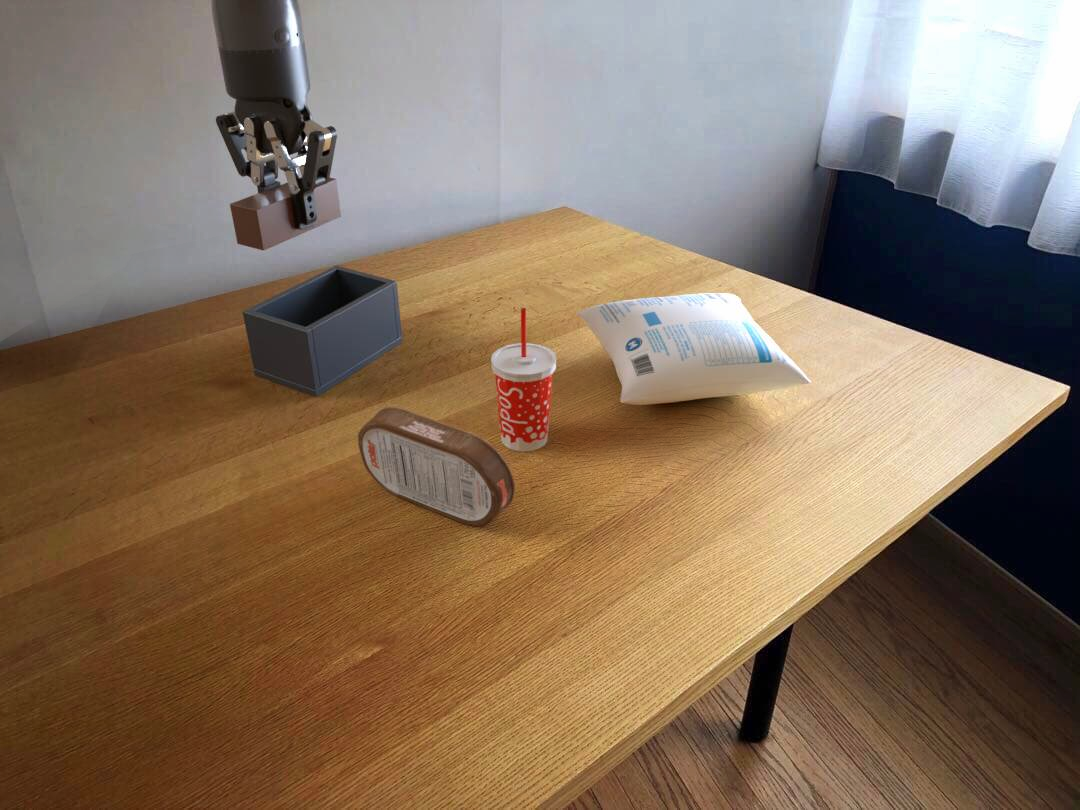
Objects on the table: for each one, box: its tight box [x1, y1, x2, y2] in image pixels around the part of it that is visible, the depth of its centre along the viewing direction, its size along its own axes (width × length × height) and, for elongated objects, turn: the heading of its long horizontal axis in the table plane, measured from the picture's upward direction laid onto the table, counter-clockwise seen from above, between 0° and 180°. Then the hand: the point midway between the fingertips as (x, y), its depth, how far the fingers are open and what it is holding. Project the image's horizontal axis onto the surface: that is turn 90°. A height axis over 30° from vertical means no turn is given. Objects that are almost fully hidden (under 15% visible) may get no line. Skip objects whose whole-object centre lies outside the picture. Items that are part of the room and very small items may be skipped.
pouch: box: [576, 292, 812, 406], centre depth 93 cm, size 8×19×20 cm
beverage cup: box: [490, 307, 557, 452], centre depth 81 cm, size 6×6×14 cm
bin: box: [242, 265, 403, 398], centre depth 96 cm, size 15×9×8 cm, turn 149°
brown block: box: [229, 176, 342, 251], centre depth 85 cm, size 11×4×4 cm, turn 150°
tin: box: [357, 406, 516, 527], centre depth 73 cm, size 15×3×8 cm, turn 59°
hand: (290, 222), depth 86 cm, fingers closed on brown block, 3 cm apart
